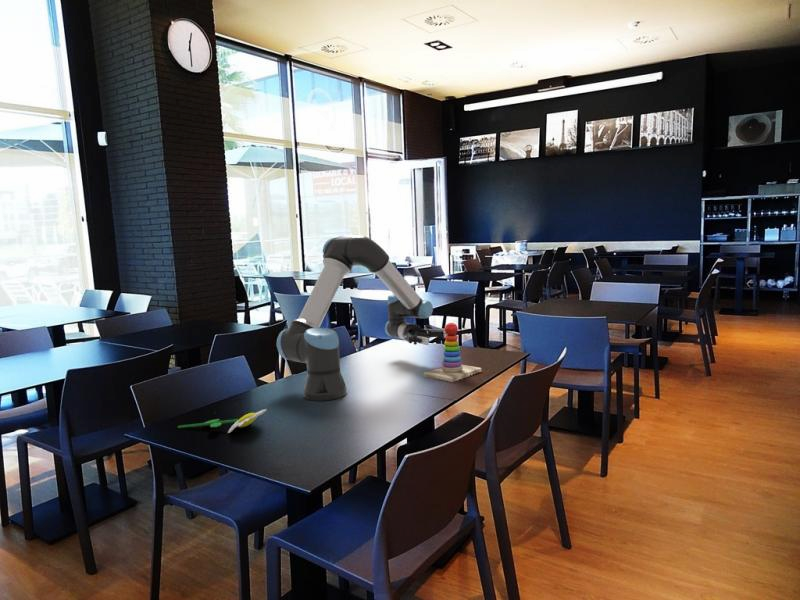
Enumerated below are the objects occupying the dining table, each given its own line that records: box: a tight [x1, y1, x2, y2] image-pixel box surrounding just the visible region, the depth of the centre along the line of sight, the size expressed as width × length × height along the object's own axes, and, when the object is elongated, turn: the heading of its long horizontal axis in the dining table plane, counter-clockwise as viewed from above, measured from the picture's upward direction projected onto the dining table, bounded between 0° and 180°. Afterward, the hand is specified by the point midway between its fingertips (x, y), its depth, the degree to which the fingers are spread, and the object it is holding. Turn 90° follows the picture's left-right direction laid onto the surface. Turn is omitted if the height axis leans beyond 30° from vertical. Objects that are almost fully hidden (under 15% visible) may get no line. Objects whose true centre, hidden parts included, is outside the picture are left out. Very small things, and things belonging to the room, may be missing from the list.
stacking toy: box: [441, 322, 463, 372], centre depth 214 cm, size 8×8×19 cm
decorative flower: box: [177, 408, 268, 434], centre depth 167 cm, size 13×5×30 cm
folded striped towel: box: [423, 364, 482, 383], centre depth 216 cm, size 18×14×2 cm
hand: (441, 339), depth 220 cm, fingers open, 13 cm apart
